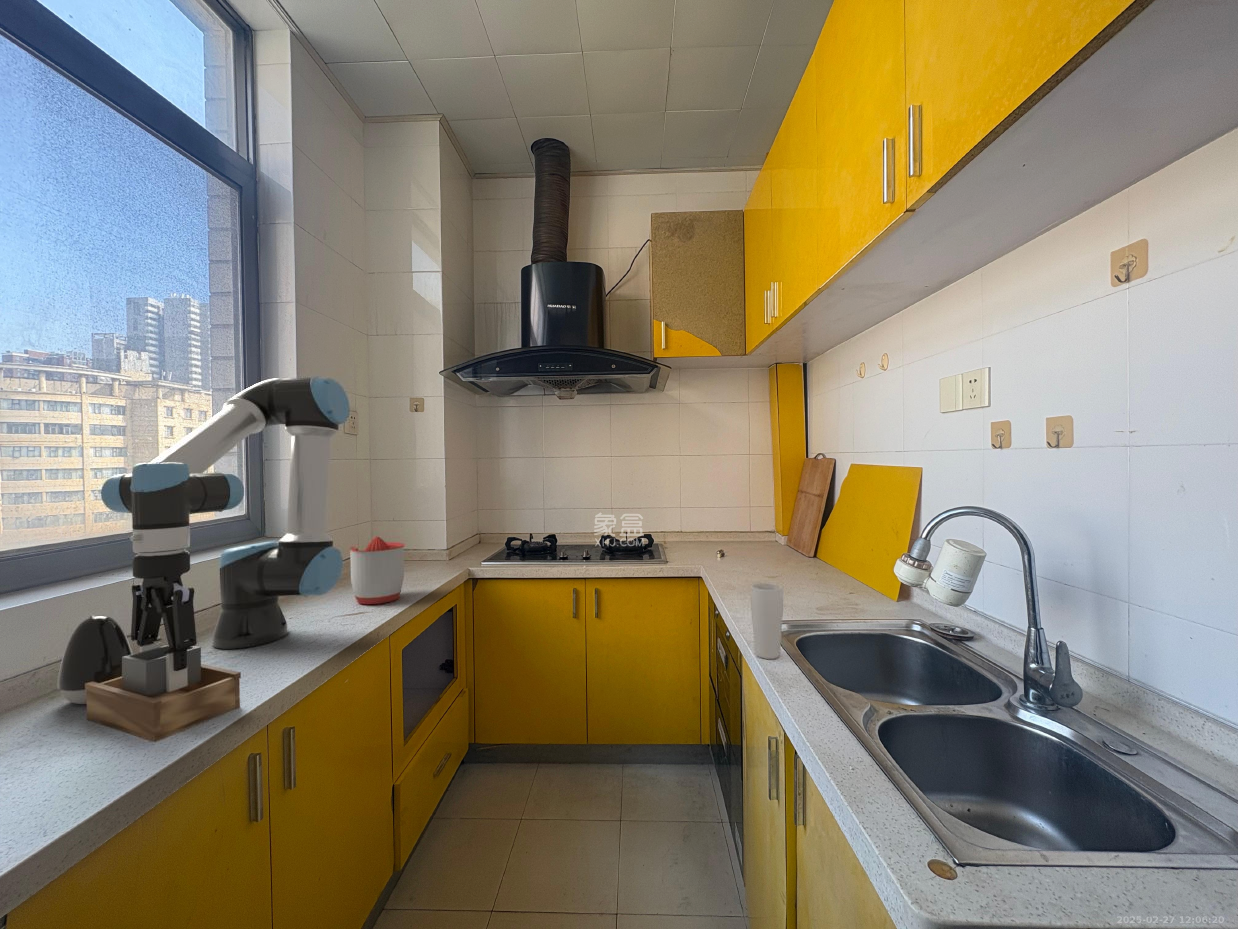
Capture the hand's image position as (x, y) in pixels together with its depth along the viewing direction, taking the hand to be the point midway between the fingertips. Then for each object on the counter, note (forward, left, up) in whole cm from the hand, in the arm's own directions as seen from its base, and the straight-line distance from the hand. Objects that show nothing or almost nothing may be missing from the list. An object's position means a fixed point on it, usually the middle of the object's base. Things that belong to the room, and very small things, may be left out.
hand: (163, 685), depth 91 cm
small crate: (0, 0, 0) cm, 0 cm away
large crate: (0, 0, -5) cm, 5 cm away
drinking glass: (-64, +93, -5) cm, 113 cm away
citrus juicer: (-69, -26, -5) cm, 74 cm away
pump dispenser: (+1, -19, -5) cm, 20 cm away
